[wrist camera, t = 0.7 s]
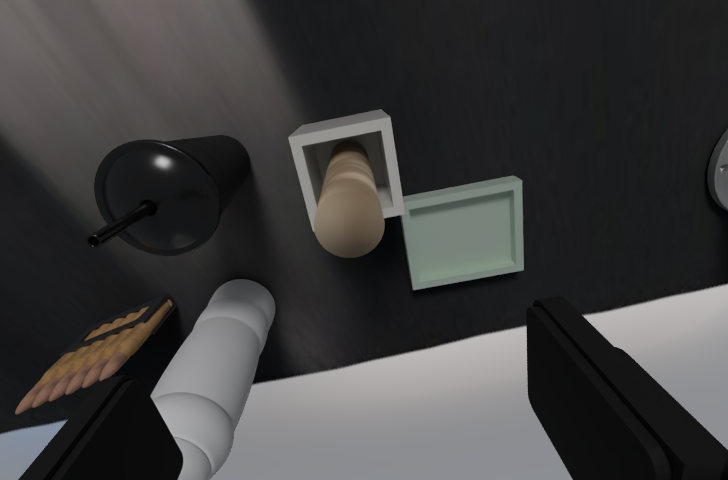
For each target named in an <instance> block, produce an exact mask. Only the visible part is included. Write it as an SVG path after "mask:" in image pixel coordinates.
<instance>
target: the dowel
mask: <svg viewBox="0 0 728 480" xmlns="http://www.w3.org/2000/svg"><path fill="white" fill-rule="evenodd" d="M384 228H385V222H384V216H383V212H382V208H381V205H380V201H379V197H378V193H377V189H376V185H375V181H374V177H373V173H372V169H371V166H370V162H369V158H368V154H367V151H366V149H365V148H364V146H363V145H361V144H360V143H359V142H357V141H354V140H345V141H342V142H340V143H338V144H337V145H336V146H335V147H334V149H333V150H332V153H331V157H330V161H329V164H328V168H327V172H326V176H325V180H324V184H323V187H322V191H321V195H320V199H319V203H318V207H317V210H316V214H315V218H314V231H315V235H316V237H317V239H318V241H319V243H320V244H321V245H322V246H323V247H324V248H325V249H326V250H327V251H329V252H330V253H332V254H334V255H336V256H340V257H345V258H354V257H359V256H362V255H365V254H367V253H369V252H370V251H371V250H373V249H374V248H375V247H376V246H377V245H378V243H379V242H380V240H381V238H382V236H383V233H384Z"/></svg>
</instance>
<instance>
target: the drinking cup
mask: <svg viewBox="0 0 728 480" xmlns="http://www.w3.org/2000/svg"><path fill="white" fill-rule="evenodd" d="M249 167H250V160H249V156H248V153H247V151H246V149H245V148H244V146H243V145H242V144H241V143H240V142H238V141H237V140H236V139H234V138H232V137H229V136H224V135H217V136H209V137H200V138H191V139H182V140H173V141H165V142H164V141H159V140H136V141H132V142H128V143H125V144H122V145H120V146H118V147H117V148H115V149H113V150H112V151H111V152H110V153H109V154H108V155H107V156H106V157H105V158H104V159H103V161H102V162H101V164H100V166H99V168H98V170H97V173H96V177H95V184H94V190H95V198H96V202H97V205H98V208H99V210H100V213H101V214H102V216H103V218H104V220H105V221H106V223H107V224H108V225H106V226H105V227H103V228H101V229H99V230H98V231H96V232H94V233H93V234H91V235H89V236H88V237H87V238H86V242H87V244H88V245H89V246H90V247H93V248H98V247H100V246H102V245H103V244H105V243H106V242H108V241H109V240H111V239H112V238H114V237H115V236H117V235H118V236H119V237H120V238H121V239H123V240H124V241H125V242H127V243H128V244H130V245H132V246H133V247H135V248H137V249H139V250H142V251H144V252H147V253H151V254H155V255H161V256H176V255H183V254H186V253H190V252H192V251H194V250H196V249H198V248H200V247H201V246H202V245H204V244H205V243H206V242H207V241H208V240H209V239H210V238H211V236H212V235H213V234H214V232H215V230H216V229H217V226H218V224H219V221H220V216H221V214H222V212H223V211H224V209H225V208H226V206H227V205H228V203H229V202H230V200H231V199H232V197H233V195H234V194H235V192H236V191H237V189H238V188H239V186H240V185H241V183H242V181H243V180H244V178H245V177H246V175H247V173H248V171H249Z"/></svg>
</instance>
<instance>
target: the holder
mask: <svg viewBox="0 0 728 480" xmlns="http://www.w3.org/2000/svg"><path fill="white" fill-rule="evenodd" d="M288 138H289V142H290V146H291V150H292V153H293V157H294V161H295V165H296V169H297V172H298V176H299V180H300V184H301V188H302V192H303V195H304V199H305V203H306V207H307V211H308V214H309V218H310V222H311V226H312V230H313V232H314V218H315V214H316V210H317V207H318V203H319V199H320V195H321V191H322V187H323V184H324V180H325V176H326V172H327V168H328V164H329V161H330V157H331V153H332V150H333V149H334V147H335V146H336V145H337V144H338V143H340V142H342V141H345V140H354V141H357V142H359V143H360V144H361V145H363V146H364V148H365V149H366V151H367V154H368V158H369V162H370V166H371V169H372V173H373V177H374V181H375V185H376V189H377V193H378V197H379V201H380V205H381V208H382V212H383V216H384V218H388V217H393V216H398V215H404V214H405V210H404V204H403V197H402V191H401V184H400V178H399V171H398V164H397V158H396V151H395V145H394V138H393V132H392V125H391V119H390V116H389V115H387V114H386V113H385V112H384V111H382V110H376V111H371V112H366V113H361V114H356V115H351V116H346V117H341V118H336V119H331V120H326V121H321V122H316V123H311V124H306V125H302V126H301V127H300V128H298V129H297V130H296V131H295V132H294V133H293V134H292V135H290V136H289V137H288Z"/></svg>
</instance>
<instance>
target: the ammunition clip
mask: <svg viewBox="0 0 728 480" xmlns="http://www.w3.org/2000/svg"><path fill="white" fill-rule="evenodd" d="M176 307H177V305H176V304H175V303H174V301H173V300H172V299H171V297H170V296H169V295H168V294H165V295H163V296H161V297H158V298H156V299H153V300H151V301H149V302H146V303H144V304H141V305H139V306H137V307H134V308H132V309H129V310H127V311H125V312H122V313H120V314H117V315H115V316H113V317H110V318H108V319H106V320H103V321H101V322H98V323H96V324H94V325H91V326H90V327H89V328H88V329H87V330H86V331H85V332H83V333H82V334H81V335H80V336H79V337H78V338H77V339H76V340H75V341H74V342H73V343H72V344H71V345H70V346H69V347H68V348H67V349H66V350H65V351H64V352H63V353H62V354H61V356H62V357H61V358H60V359H59V360H58V361H57V362H56V363H55V364H54V365H53V366H52V367H51V368H50V369H49V370H48V371H47V372H46V373H45V374H44V376H43V377H42V378H41V380H40V381H39V382H38V383H37V384H36V385H35V387H34V388H33V389H31V391H30V392H29V393H28V394H27V395H26V396H25V397H24V398H23V400H22V401H21V403H20V404H19V406H18V407H17V409H16V412H15V414H16V415H17V414H20V413H22V412H24V411H26V410H27V409H29V408H30V407H32V408H35V407H38V406H39V405H41V404H43V403H44V402H46V401H47V400H49V401H53V400H55V399H57V398H59V397H60V396H62V395H63V394H64V393H65V394H66V395H68V394H71V393H73V392H74V391H76V390H77V389H79V388H80V387H81V386H82V385H83V386H82V387H83V388H86V387H88V386H90V385H92V384H93V383H94V382H96V381H97V380H98V379H99V378H100V381H102V380H104V379H106V378H109V377H110V376H112V375H113V374H114V373H115V372H116V371H117V370H118V369H119V368H120V367H121V366H122V365H123V364H124V363H125V362H126V361H127V360H128V359H129V358H130V356H132V355H133V354H134V353H135V352H136V351H137V350H138V349H139V348H140V347H141V346H142V344H143V343H144V342H145V341H146V339H147V338H148V337H149V336H152V335H154V334H155V333H156V332H157V330H158V329H159V328H160V327H161V325H162V324H163V323H164V322H165V320H166V319H167V318H168V317H169V316H170V314H171V313H172V312H173V311H174V309H175V308H176Z"/></svg>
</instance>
